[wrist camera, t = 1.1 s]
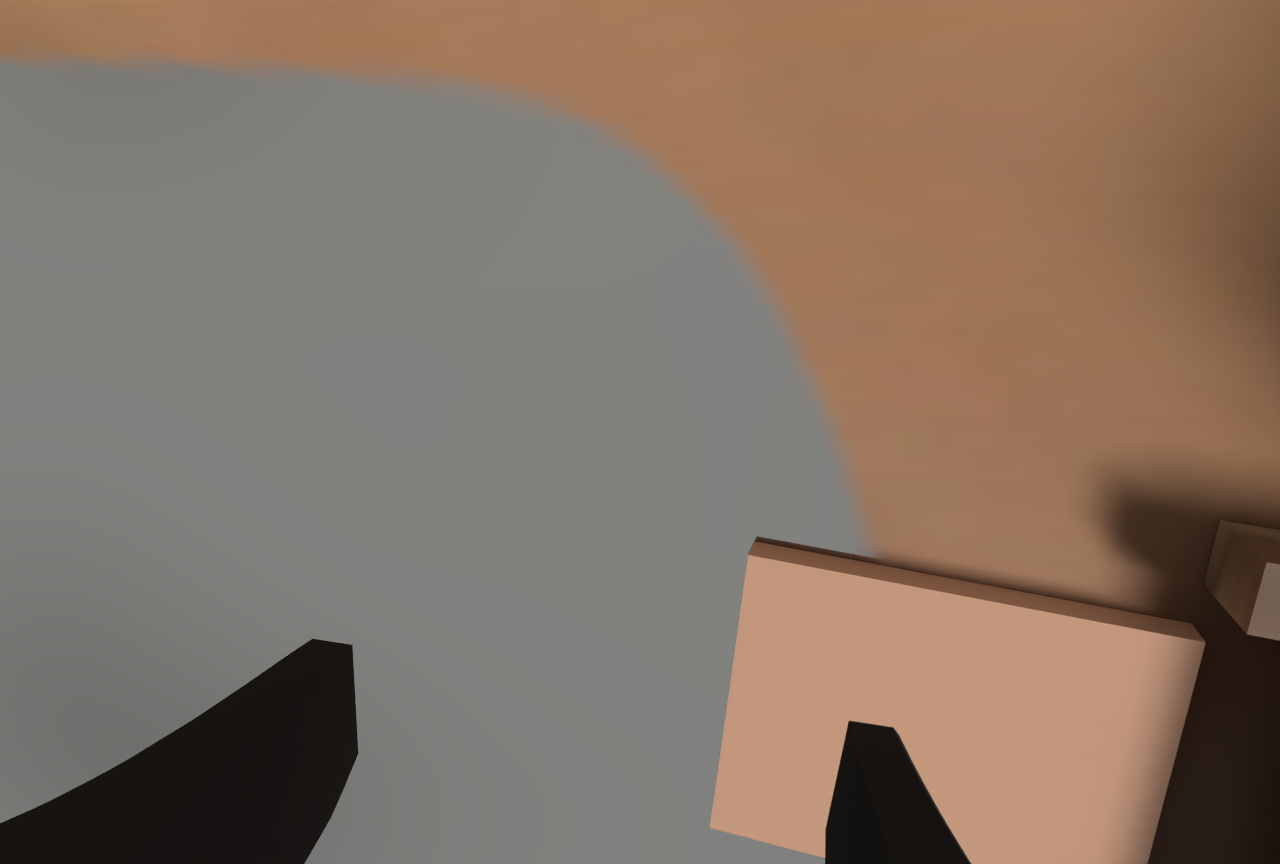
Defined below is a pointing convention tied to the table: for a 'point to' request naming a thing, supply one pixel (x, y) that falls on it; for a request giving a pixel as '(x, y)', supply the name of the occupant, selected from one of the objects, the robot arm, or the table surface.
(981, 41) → the table surface
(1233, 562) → the dock
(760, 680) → the tile
